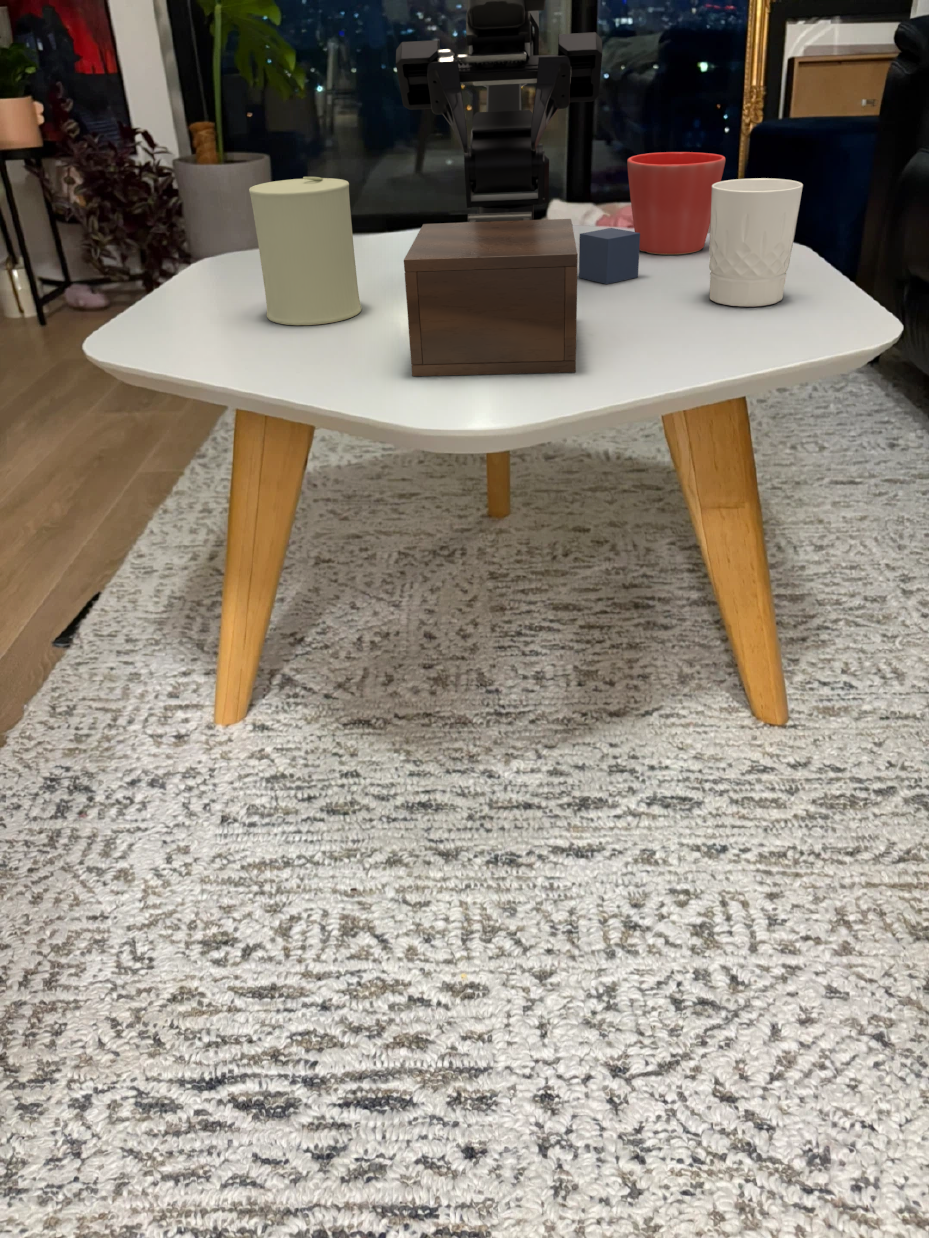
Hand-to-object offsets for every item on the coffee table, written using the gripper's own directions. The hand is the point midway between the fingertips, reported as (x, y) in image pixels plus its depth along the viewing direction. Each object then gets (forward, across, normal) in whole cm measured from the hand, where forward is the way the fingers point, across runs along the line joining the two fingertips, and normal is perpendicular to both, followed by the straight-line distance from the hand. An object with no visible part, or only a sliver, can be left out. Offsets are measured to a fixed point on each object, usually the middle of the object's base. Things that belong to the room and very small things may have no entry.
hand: (499, 148), depth 89 cm
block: (+3, +11, +16) cm, 20 cm away
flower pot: (-6, +19, +26) cm, 33 cm away
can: (+11, -18, +8) cm, 23 cm away
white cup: (+11, +23, +8) cm, 27 cm away
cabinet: (+21, 0, -2) cm, 21 cm away
